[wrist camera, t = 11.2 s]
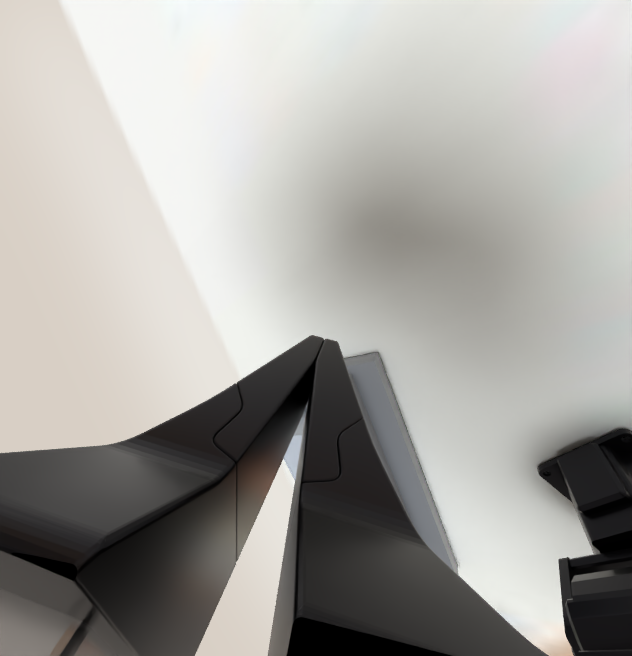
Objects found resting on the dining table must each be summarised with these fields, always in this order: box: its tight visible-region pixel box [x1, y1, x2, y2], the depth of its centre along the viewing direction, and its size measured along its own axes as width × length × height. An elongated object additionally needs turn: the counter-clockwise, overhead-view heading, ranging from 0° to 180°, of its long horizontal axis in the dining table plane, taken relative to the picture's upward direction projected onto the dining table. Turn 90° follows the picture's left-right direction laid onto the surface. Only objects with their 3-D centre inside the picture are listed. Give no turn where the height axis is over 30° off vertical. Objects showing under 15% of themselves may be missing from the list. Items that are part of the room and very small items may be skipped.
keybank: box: [306, 352, 458, 575], centre depth 27 cm, size 25×10×5 cm, turn 24°
